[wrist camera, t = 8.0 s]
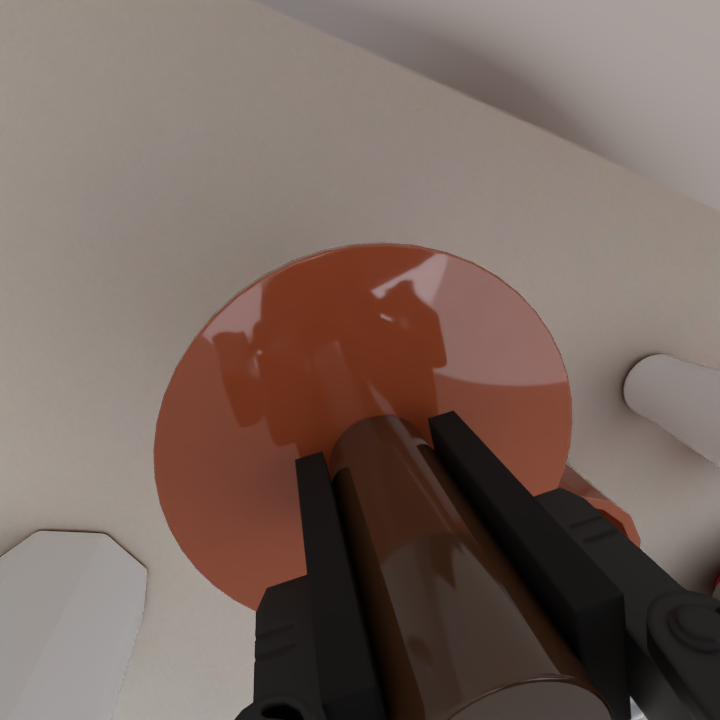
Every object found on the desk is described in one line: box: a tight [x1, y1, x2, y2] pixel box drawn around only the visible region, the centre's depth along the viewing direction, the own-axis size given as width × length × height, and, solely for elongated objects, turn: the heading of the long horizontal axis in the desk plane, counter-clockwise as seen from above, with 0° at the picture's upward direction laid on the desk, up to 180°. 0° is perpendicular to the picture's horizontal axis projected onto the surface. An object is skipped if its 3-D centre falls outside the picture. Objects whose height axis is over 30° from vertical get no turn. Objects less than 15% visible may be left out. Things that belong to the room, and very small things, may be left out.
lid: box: [153, 242, 613, 720], centre depth 11 cm, size 12×12×9 cm
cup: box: [0, 531, 147, 720], centre depth 26 cm, size 11×11×18 cm
